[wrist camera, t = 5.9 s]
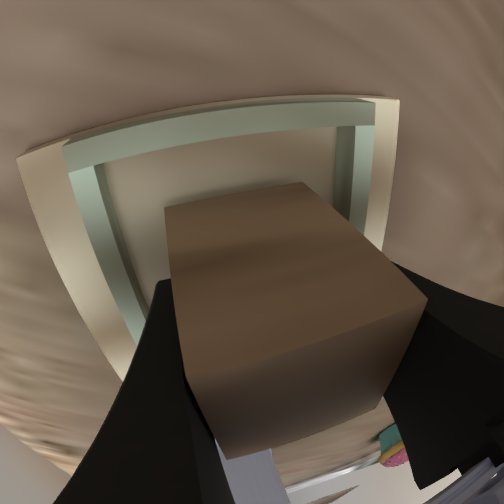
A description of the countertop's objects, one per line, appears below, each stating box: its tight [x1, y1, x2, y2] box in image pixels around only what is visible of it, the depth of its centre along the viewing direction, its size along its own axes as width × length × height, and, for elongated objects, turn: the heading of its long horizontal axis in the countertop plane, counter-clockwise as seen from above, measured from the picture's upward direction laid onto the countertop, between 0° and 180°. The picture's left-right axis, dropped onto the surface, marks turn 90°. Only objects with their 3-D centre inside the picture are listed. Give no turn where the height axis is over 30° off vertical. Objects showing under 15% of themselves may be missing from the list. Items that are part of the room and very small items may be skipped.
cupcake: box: [378, 423, 409, 467], centre depth 36 cm, size 9×8×12 cm
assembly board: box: [16, 94, 400, 381], centre depth 14 cm, size 18×14×2 cm
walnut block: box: [164, 182, 428, 460], centre depth 8 cm, size 4×4×6 cm
